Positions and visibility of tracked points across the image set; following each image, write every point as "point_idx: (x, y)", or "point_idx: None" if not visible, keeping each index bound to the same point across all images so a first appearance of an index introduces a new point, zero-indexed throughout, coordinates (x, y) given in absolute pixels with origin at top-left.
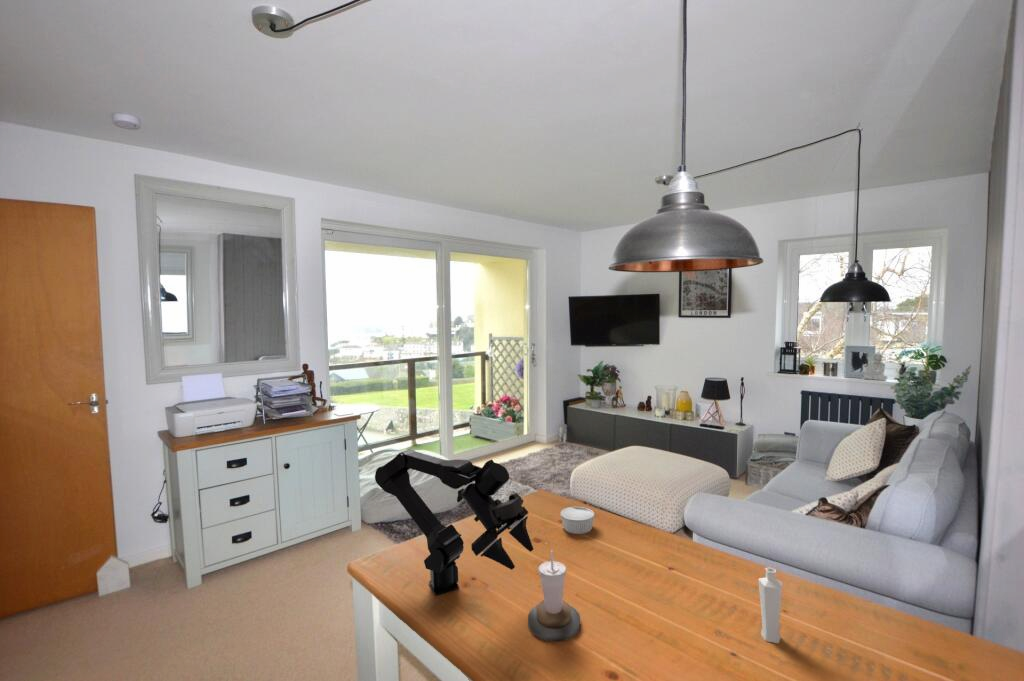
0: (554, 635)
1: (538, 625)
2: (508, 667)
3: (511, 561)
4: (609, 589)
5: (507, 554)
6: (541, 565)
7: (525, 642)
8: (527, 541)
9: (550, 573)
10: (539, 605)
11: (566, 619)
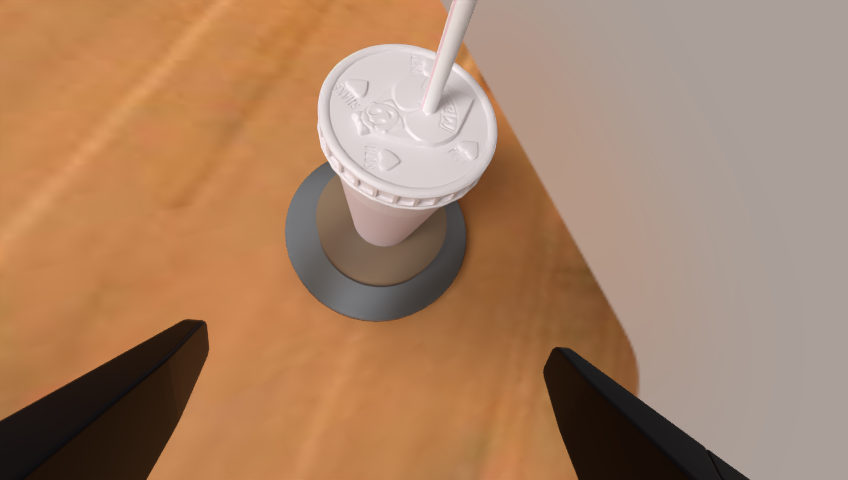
0: (457, 204)
1: (441, 261)
2: (587, 292)
3: (598, 378)
4: (110, 103)
5: (659, 442)
6: (406, 186)
7: (491, 287)
8: (134, 403)
9: (471, 114)
10: (384, 273)
11: None
